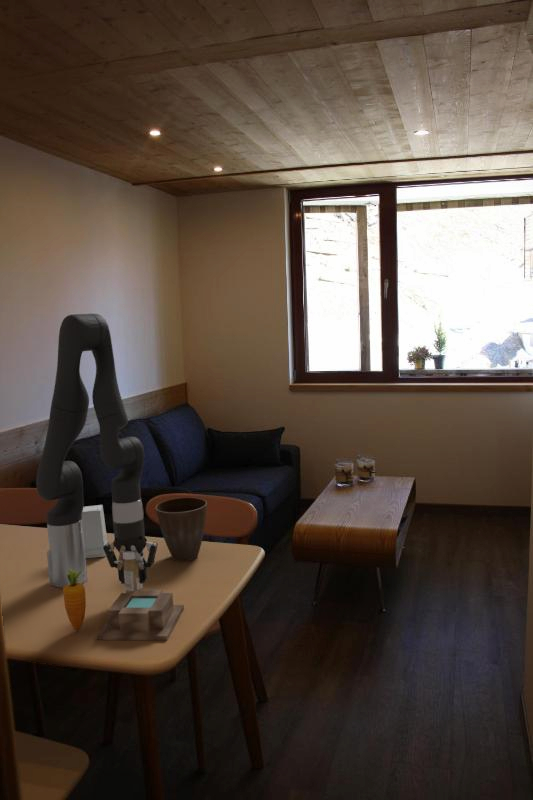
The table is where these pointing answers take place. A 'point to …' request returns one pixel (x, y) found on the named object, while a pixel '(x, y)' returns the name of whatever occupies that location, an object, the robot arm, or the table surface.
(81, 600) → the carrot
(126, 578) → the sprinkles bottle
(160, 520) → the plant pot
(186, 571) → the table surface
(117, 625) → the socket block
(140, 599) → the teal square tile
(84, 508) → the skincare box
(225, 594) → the table surface
